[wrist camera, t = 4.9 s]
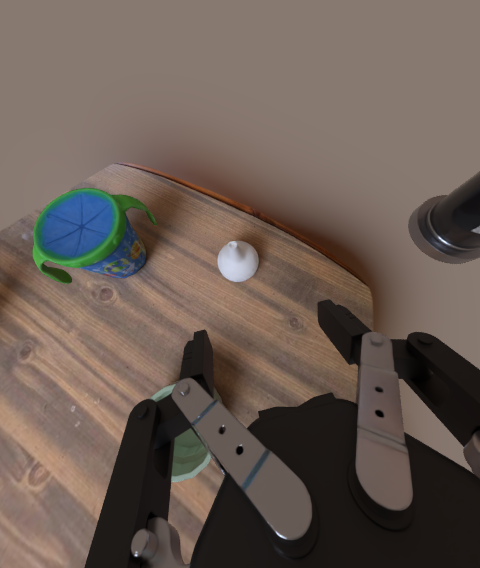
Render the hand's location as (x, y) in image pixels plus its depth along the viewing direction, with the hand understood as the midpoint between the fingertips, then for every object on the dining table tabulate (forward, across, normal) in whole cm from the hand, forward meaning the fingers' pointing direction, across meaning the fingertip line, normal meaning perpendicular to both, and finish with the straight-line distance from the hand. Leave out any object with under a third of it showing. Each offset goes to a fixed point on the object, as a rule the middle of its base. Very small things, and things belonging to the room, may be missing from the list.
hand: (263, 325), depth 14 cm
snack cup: (+23, +18, -1) cm, 29 cm away
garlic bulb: (+19, 0, +3) cm, 19 cm away
